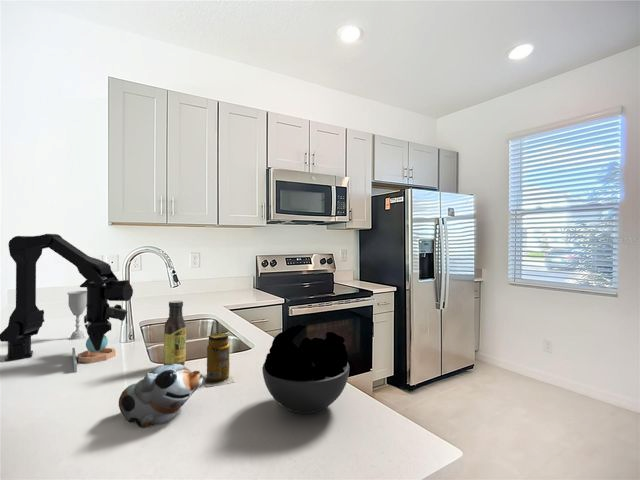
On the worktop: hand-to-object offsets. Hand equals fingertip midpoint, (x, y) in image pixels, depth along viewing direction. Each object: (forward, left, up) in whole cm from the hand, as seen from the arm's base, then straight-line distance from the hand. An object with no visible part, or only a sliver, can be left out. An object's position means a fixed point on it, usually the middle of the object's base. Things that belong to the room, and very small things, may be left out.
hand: (96, 348), depth 109 cm
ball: (0, 0, +2) cm, 2 cm away
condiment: (+41, +25, -3) cm, 48 cm away
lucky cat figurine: (+51, +8, -3) cm, 52 cm away
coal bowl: (+69, +35, -3) cm, 77 cm away
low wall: (+2, -6, -3) cm, 7 cm away
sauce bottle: (+24, +18, -3) cm, 30 cm away
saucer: (0, 0, -3) cm, 3 cm away
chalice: (-31, -4, -3) cm, 31 cm away
